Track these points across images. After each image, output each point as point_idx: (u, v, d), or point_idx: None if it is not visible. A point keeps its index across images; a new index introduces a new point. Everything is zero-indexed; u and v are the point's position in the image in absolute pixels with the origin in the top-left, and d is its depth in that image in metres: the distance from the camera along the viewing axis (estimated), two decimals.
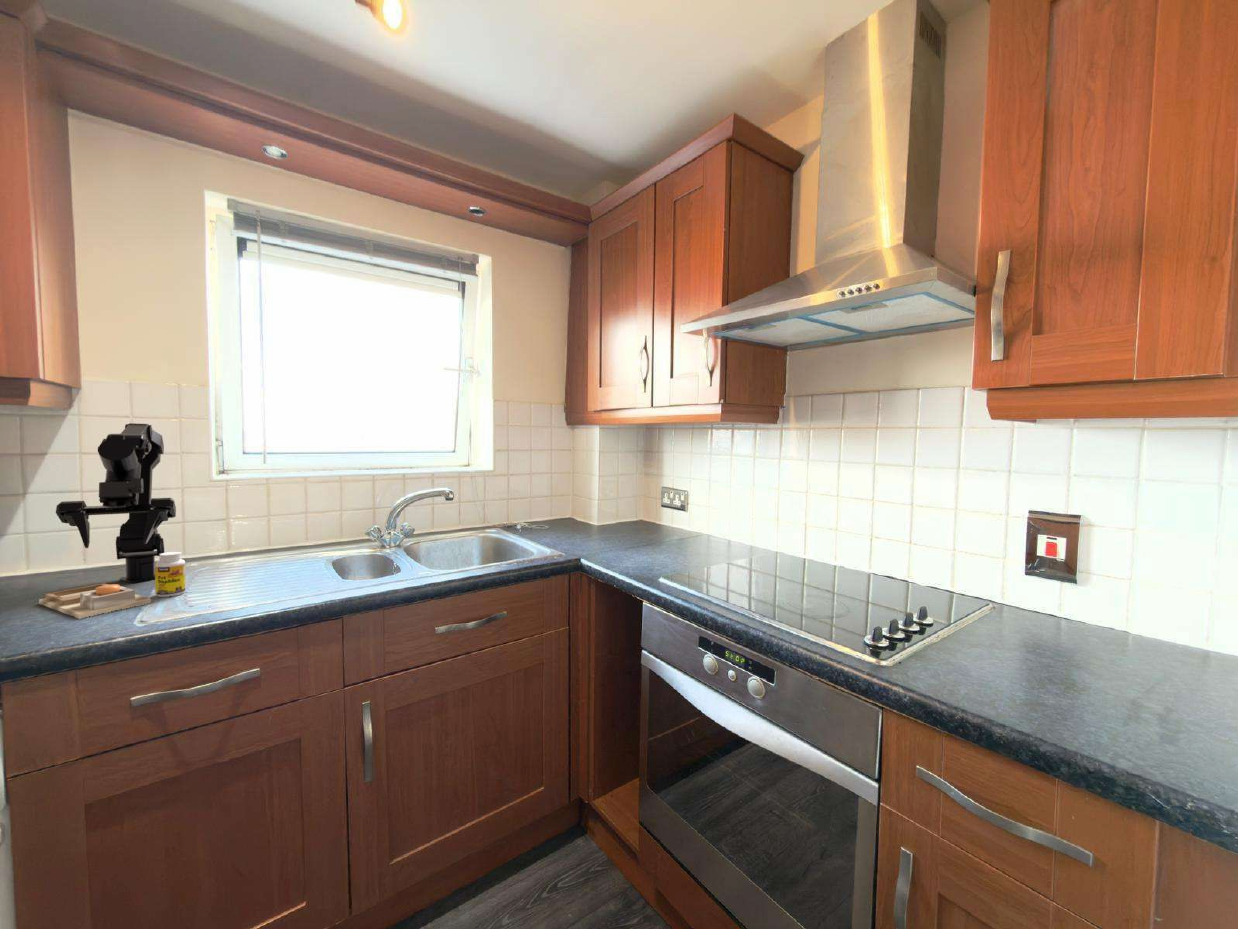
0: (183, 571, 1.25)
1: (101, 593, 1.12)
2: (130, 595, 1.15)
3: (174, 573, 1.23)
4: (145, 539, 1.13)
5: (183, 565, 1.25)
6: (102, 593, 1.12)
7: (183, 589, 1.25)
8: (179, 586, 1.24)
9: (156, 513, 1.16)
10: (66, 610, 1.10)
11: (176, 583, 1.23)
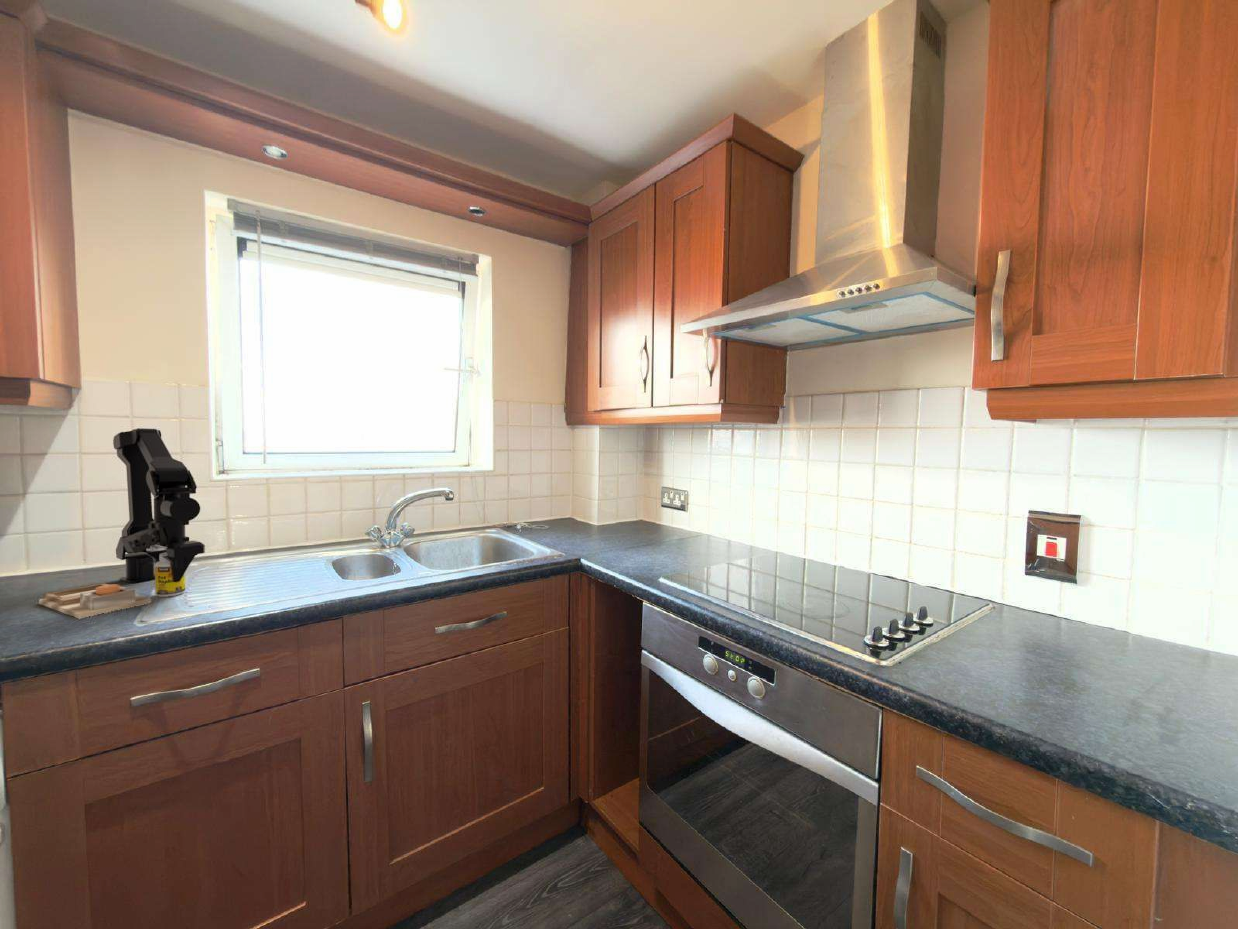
0: None
1: (101, 593, 1.12)
2: (130, 595, 1.15)
3: None
4: (173, 580, 1.23)
5: None
6: (102, 593, 1.12)
7: (183, 589, 1.25)
8: (179, 586, 1.24)
9: (169, 560, 1.20)
10: (66, 610, 1.10)
11: (176, 582, 1.23)
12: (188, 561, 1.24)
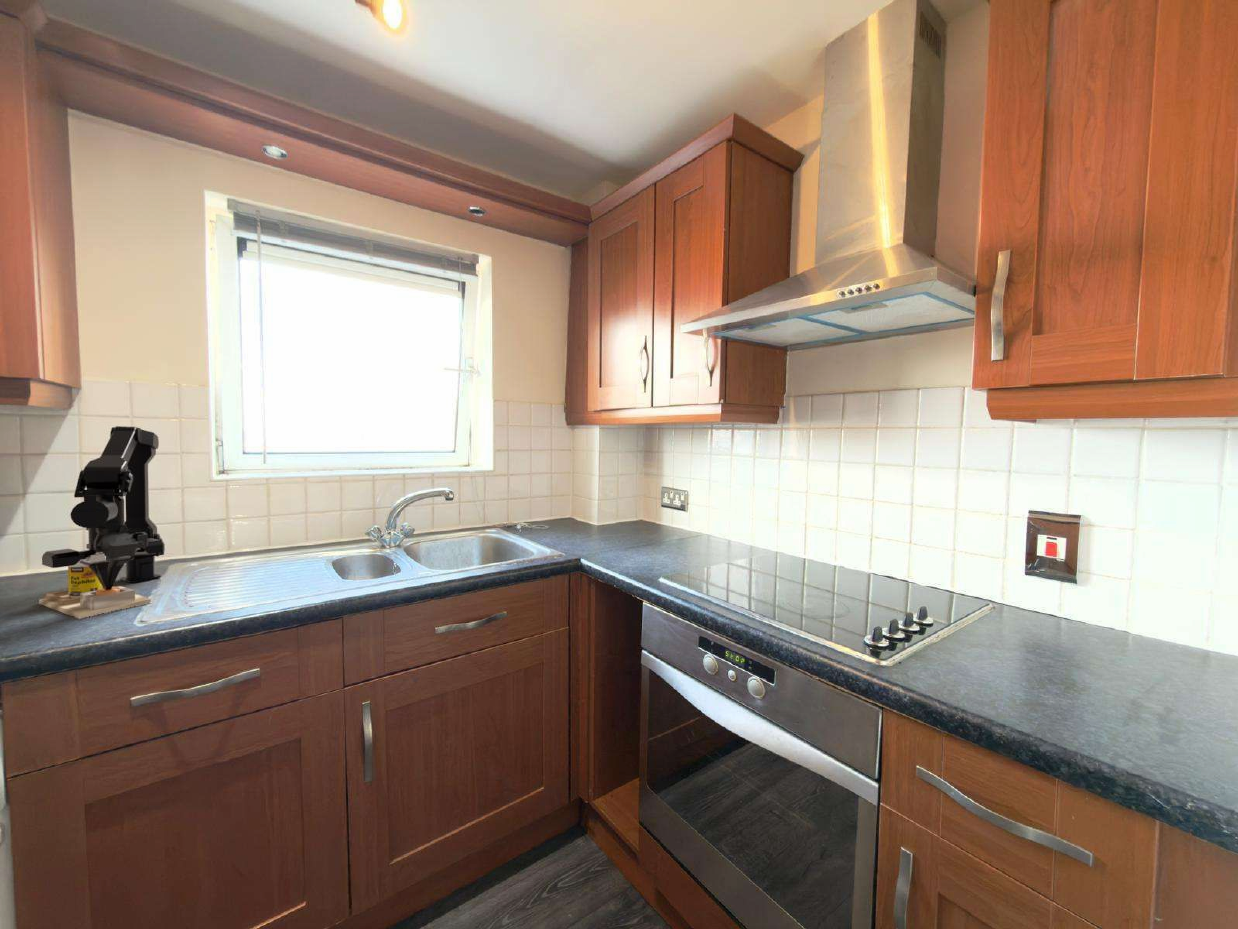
0: None
1: None
2: (130, 595, 1.15)
3: (89, 573, 1.17)
4: (111, 587, 1.14)
5: None
6: None
7: None
8: (94, 587, 1.18)
9: (124, 562, 1.15)
10: (66, 610, 1.10)
11: (91, 583, 1.18)
12: None
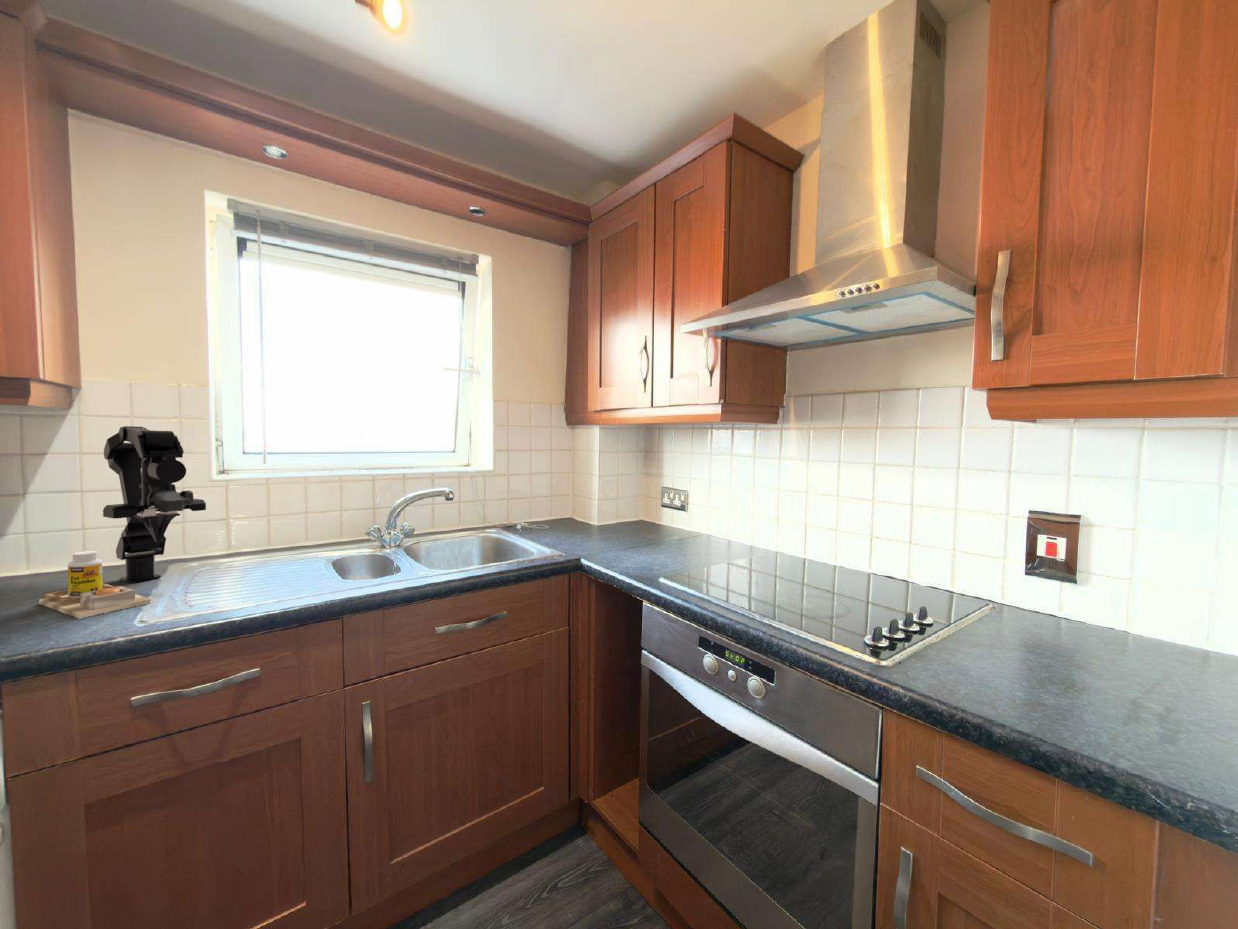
0: (99, 571, 1.19)
1: None
2: (130, 595, 1.15)
3: (89, 573, 1.17)
4: (160, 539, 1.28)
5: (99, 565, 1.19)
6: None
7: None
8: (94, 587, 1.18)
9: (172, 517, 1.29)
10: (66, 610, 1.10)
11: (91, 583, 1.18)
12: None
